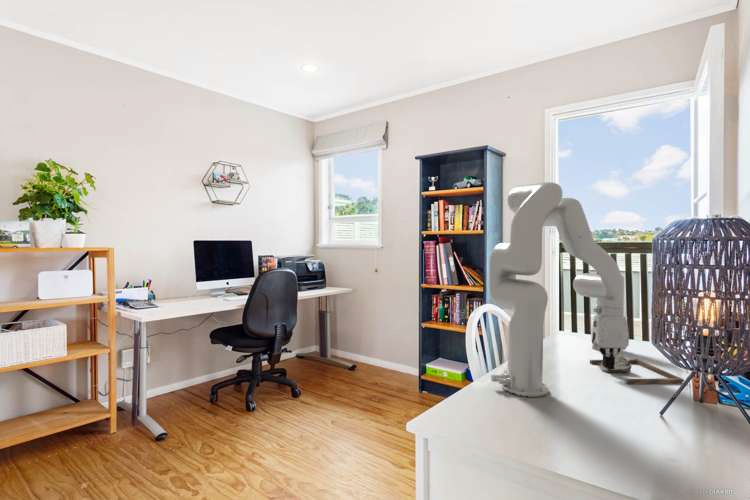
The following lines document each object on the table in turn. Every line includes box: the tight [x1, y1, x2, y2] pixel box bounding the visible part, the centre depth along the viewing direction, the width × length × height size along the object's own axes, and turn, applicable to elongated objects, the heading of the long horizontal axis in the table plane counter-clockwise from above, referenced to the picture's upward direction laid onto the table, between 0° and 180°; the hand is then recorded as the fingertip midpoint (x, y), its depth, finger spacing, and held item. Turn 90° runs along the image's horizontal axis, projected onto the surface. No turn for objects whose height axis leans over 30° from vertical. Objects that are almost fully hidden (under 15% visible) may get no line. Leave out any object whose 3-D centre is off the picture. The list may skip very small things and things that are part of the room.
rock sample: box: [598, 352, 632, 374], centre depth 135 cm, size 10×8×9 cm
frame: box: [589, 358, 685, 385], centre depth 133 cm, size 17×20×1 cm
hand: (608, 367), depth 132 cm, fingers closed
